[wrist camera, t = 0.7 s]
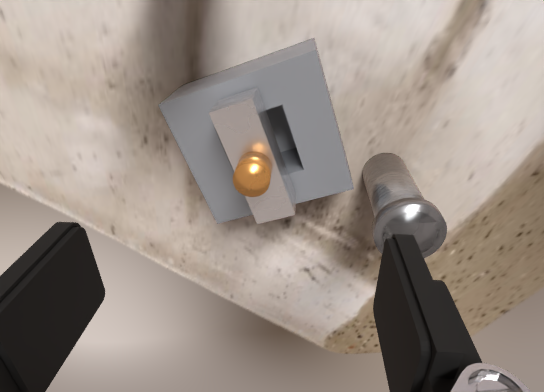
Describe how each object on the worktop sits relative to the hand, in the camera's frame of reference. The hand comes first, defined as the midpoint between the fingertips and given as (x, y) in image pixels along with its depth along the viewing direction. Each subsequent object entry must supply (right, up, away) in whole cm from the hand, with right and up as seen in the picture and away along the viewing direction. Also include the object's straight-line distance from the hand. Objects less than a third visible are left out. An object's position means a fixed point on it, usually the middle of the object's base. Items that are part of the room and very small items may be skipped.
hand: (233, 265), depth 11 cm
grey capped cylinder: (+12, +4, +23) cm, 26 cm away
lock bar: (0, +6, +16) cm, 17 cm away
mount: (+1, +9, +22) cm, 23 cm away
